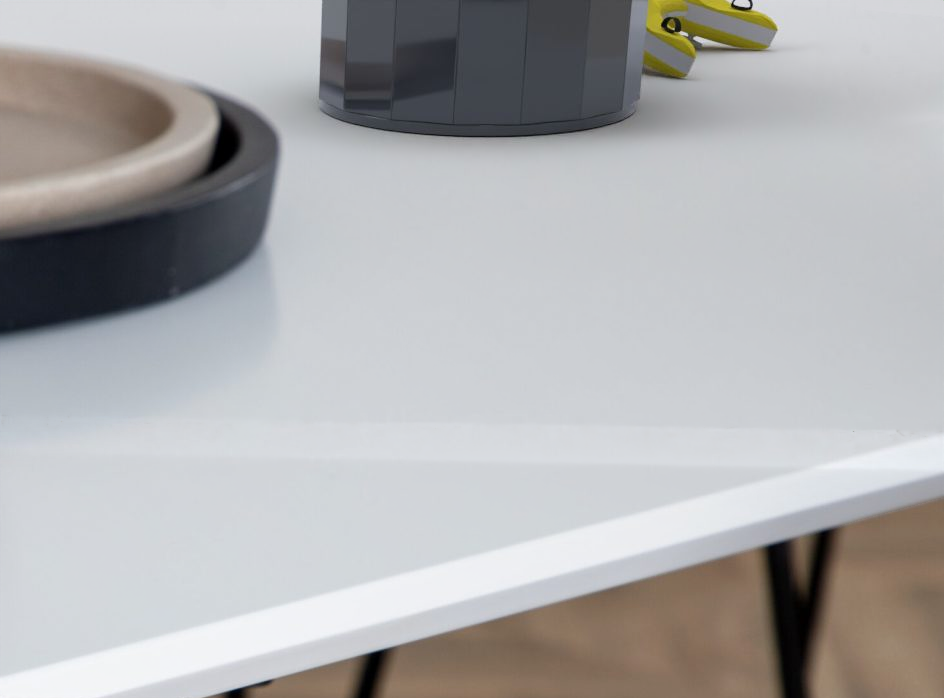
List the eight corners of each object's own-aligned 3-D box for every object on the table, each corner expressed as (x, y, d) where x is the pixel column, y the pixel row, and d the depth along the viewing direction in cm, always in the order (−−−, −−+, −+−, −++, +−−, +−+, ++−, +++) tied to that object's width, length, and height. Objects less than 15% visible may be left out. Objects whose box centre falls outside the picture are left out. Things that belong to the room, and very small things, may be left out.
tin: (615, 75, 113) (631, -104, 109) (656, 136, 99) (675, -66, 96) (318, 76, 114) (323, -100, 111) (318, 136, 101) (325, -62, 98)
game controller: (654, 18, 122) (683, -43, 119) (755, 74, 119) (787, 13, 117) (566, 45, 115) (595, -19, 113) (671, 105, 112) (703, 41, 110)
